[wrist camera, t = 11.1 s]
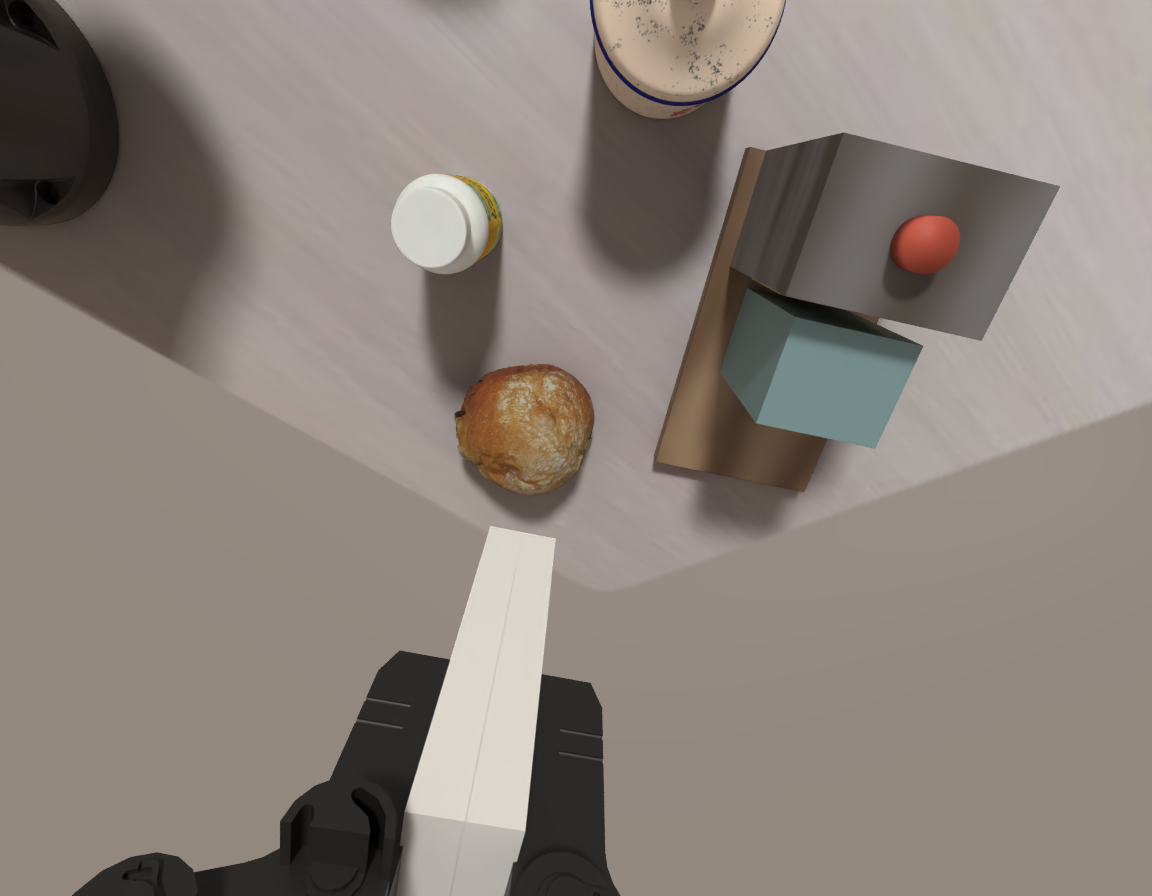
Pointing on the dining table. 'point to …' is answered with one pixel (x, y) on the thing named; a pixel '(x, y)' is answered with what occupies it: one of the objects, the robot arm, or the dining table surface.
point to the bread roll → (526, 427)
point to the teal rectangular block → (816, 368)
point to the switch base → (843, 274)
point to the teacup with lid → (679, 49)
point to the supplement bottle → (446, 222)
